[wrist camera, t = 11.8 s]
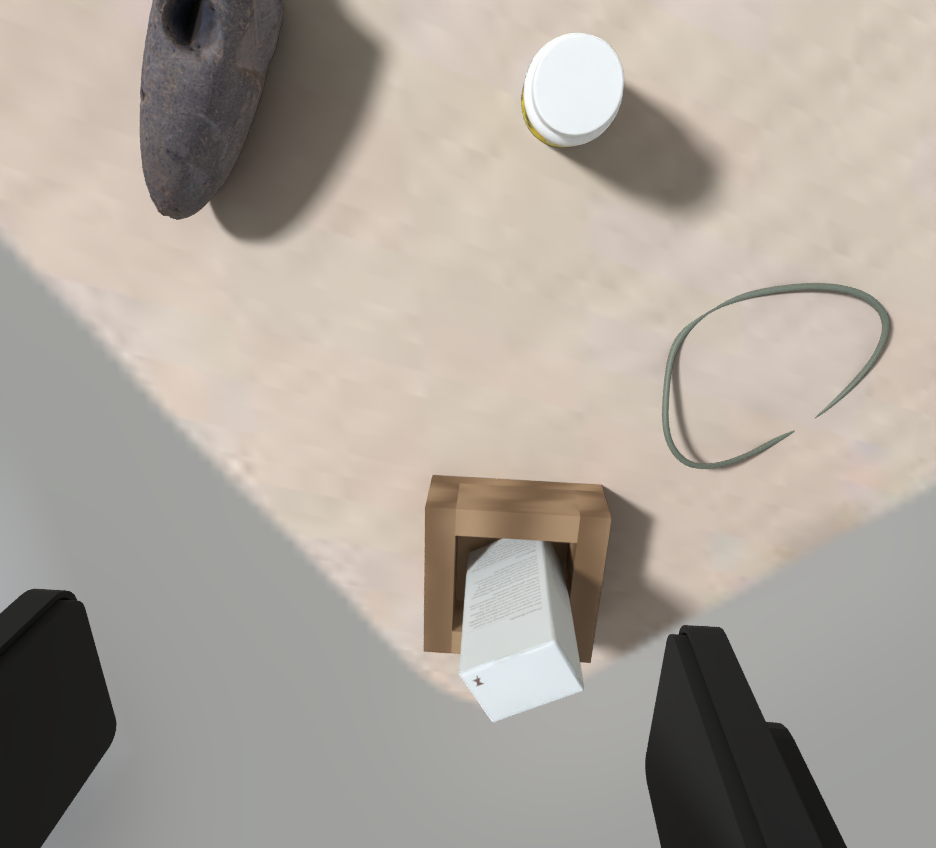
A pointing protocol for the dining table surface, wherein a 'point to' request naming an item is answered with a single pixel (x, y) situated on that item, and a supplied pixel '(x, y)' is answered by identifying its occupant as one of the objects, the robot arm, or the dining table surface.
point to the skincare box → (518, 628)
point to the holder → (511, 517)
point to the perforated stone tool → (201, 94)
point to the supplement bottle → (572, 90)
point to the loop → (756, 293)
